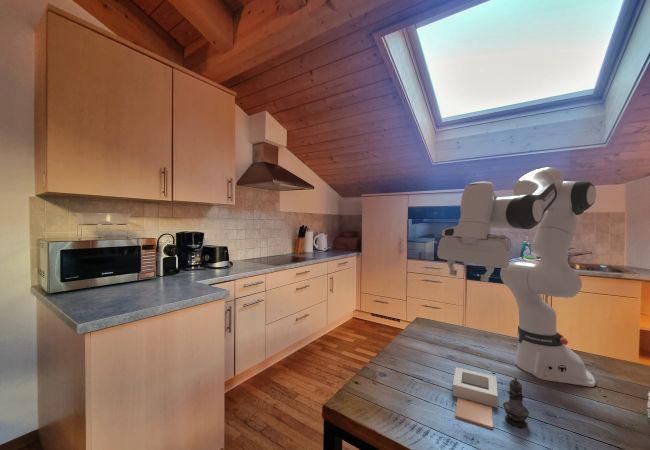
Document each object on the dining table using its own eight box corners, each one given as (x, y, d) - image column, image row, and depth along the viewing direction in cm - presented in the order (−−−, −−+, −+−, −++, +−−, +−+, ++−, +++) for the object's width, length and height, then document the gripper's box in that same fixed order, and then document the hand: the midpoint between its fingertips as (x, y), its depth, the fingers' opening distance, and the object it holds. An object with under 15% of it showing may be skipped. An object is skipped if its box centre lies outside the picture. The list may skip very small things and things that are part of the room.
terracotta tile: (492, 409, 79) (492, 407, 79) (493, 429, 72) (493, 427, 72) (457, 399, 84) (457, 397, 84) (455, 417, 76) (455, 415, 76)
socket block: (496, 386, 90) (496, 376, 90) (497, 408, 80) (497, 396, 80) (456, 377, 96) (455, 367, 96) (452, 395, 86) (452, 384, 86)
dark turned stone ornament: (500, 421, 74) (500, 377, 74) (505, 411, 79) (505, 369, 79) (527, 433, 70) (526, 386, 70) (531, 421, 74) (531, 377, 74)
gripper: (516, 237, 77) (510, 286, 76) (447, 232, 94) (442, 272, 93) (507, 234, 73) (501, 285, 73) (437, 230, 90) (432, 271, 89)
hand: (467, 278), depth 83 cm, fingers open, 8 cm apart
